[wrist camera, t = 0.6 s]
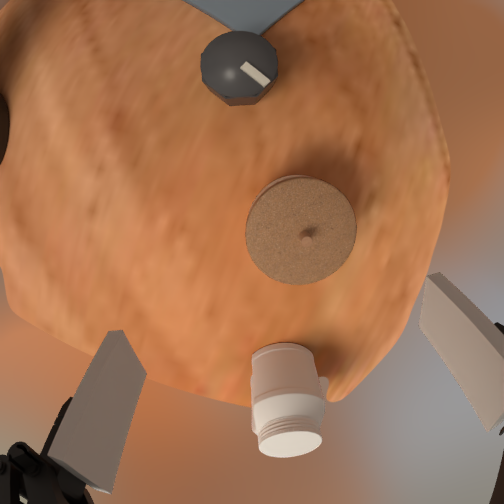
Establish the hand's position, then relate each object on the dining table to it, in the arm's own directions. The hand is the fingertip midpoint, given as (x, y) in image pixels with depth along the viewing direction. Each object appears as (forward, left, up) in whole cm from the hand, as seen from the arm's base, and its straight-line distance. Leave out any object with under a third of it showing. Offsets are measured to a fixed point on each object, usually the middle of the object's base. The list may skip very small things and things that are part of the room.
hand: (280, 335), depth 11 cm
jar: (+21, -17, -24) cm, 36 cm away
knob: (-11, +10, -23) cm, 28 cm away
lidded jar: (+4, +2, -24) cm, 24 cm away
